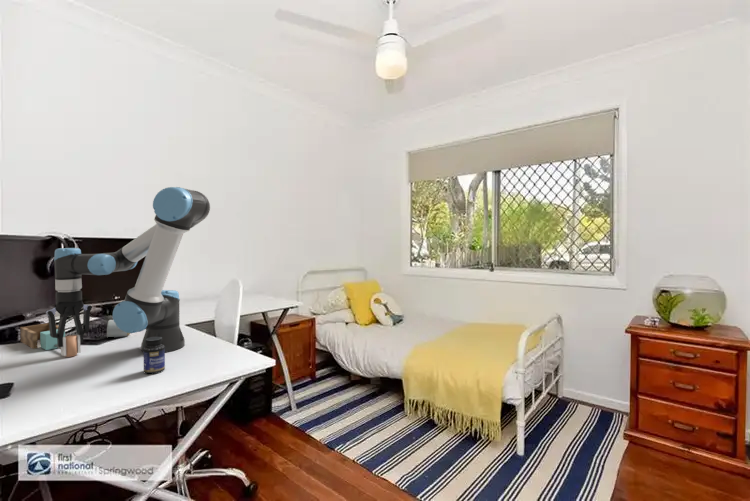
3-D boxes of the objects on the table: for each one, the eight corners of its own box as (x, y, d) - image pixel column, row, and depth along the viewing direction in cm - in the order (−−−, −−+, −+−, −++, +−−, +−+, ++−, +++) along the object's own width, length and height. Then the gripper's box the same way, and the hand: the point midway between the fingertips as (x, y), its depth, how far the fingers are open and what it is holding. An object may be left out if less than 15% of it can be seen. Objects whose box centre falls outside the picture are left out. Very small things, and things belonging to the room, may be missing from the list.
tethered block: (82, 353, 140) (82, 335, 140) (62, 358, 135) (62, 339, 135) (59, 343, 152) (59, 326, 152) (40, 347, 147) (39, 329, 147)
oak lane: (65, 342, 155) (64, 328, 155) (33, 348, 147) (33, 333, 146) (51, 336, 164) (50, 322, 163) (20, 341, 155) (20, 327, 155)
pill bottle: (149, 376, 121) (149, 342, 121) (139, 372, 125) (139, 339, 124) (168, 370, 127) (168, 337, 126) (158, 366, 130) (158, 334, 129)
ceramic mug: (129, 337, 163) (129, 320, 163) (106, 339, 160) (106, 321, 159) (132, 332, 173) (131, 315, 172) (110, 334, 169) (110, 317, 169)
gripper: (91, 286, 147) (93, 346, 148) (35, 292, 133) (38, 357, 134) (99, 288, 142) (101, 349, 144) (43, 294, 129) (45, 362, 130)
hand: (70, 353), depth 139 cm, fingers closed on tethered block, 4 cm apart
